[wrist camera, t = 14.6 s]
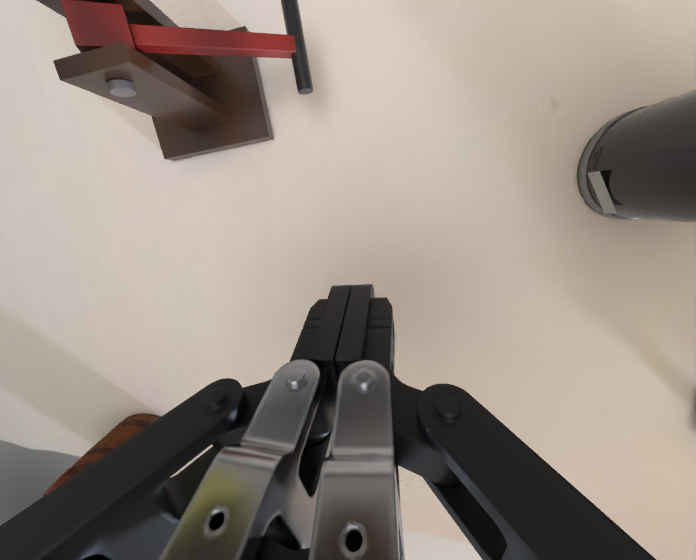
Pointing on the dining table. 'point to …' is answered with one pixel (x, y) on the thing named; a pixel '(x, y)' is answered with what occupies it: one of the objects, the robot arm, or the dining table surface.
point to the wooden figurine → (106, 445)
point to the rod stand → (175, 88)
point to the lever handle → (188, 37)
